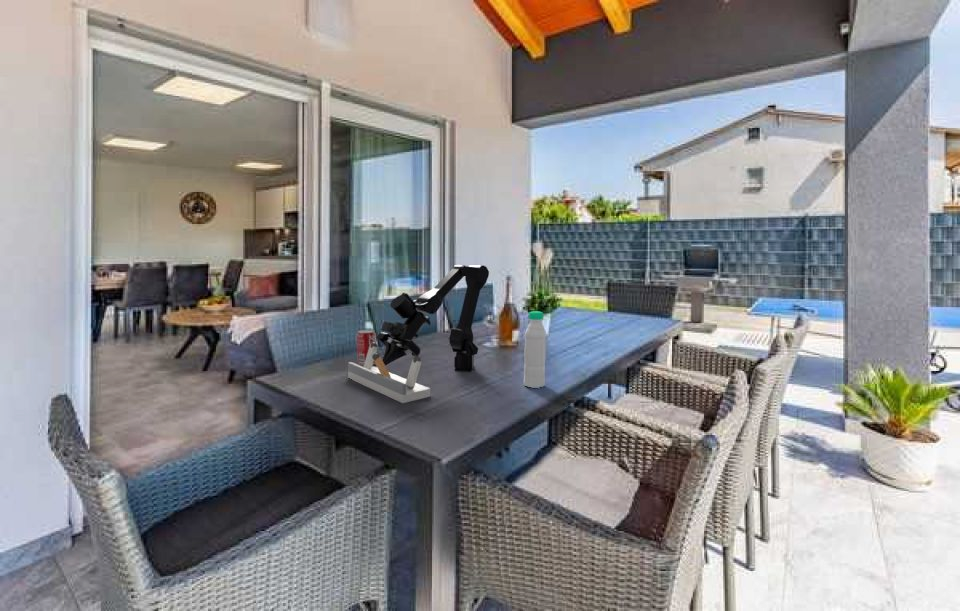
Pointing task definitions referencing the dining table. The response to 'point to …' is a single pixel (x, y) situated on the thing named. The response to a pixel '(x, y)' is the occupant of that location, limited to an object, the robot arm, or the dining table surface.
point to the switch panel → (387, 383)
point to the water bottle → (535, 351)
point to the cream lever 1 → (370, 355)
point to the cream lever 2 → (413, 372)
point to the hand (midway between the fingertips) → (382, 364)
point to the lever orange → (380, 365)
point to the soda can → (364, 344)
